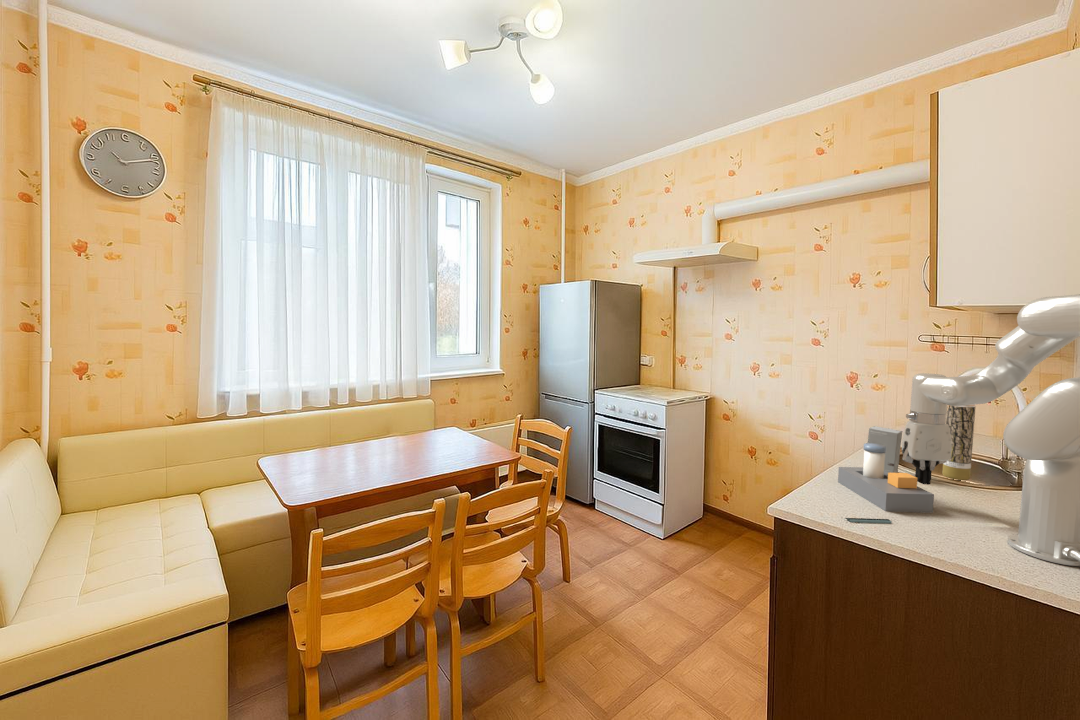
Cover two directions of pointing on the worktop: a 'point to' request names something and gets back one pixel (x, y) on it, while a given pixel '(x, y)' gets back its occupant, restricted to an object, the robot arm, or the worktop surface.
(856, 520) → the thin grey strip
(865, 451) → the cartridge
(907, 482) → the release slider
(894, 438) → the skincare box
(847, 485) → the housing
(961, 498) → the worktop surface
